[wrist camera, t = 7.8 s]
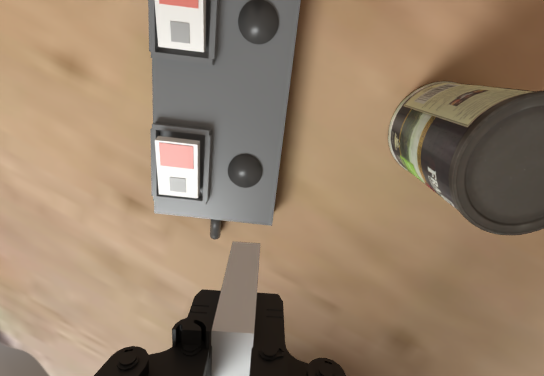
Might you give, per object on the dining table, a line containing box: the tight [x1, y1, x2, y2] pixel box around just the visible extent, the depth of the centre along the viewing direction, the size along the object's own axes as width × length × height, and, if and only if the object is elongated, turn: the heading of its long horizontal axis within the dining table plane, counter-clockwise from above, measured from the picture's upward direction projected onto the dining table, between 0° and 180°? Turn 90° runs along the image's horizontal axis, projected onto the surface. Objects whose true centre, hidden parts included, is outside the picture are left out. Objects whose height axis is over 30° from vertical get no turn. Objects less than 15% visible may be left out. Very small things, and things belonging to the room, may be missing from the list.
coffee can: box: [388, 81, 544, 235], centre depth 29 cm, size 10×10×14 cm
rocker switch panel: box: [148, 0, 301, 239], centre depth 33 cm, size 30×13×4 cm, turn 173°
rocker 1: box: [155, 0, 206, 52], centre depth 28 cm, size 6×4×1 cm, turn 174°
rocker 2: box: [155, 136, 200, 198], centre depth 33 cm, size 6×4×1 cm, turn 174°
